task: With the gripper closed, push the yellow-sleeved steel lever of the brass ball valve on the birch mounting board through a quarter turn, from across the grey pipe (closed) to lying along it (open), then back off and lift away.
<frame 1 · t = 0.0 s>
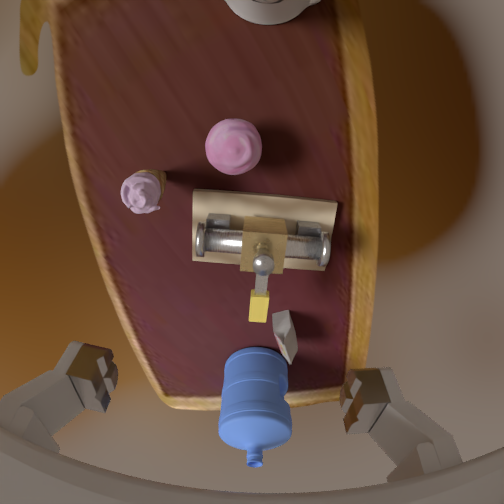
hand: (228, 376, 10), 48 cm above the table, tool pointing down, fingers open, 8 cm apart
water jug: (256, 366, 76), on the table
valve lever: (260, 288, 49), point 13 cm above the table, hinge at 0.0°
ice cream cone: (163, 176, 55), on the table
cupcake: (236, 141, 52), on the table
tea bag: (284, 322, 69), on the table
valve assembly: (262, 229, 59), on the table
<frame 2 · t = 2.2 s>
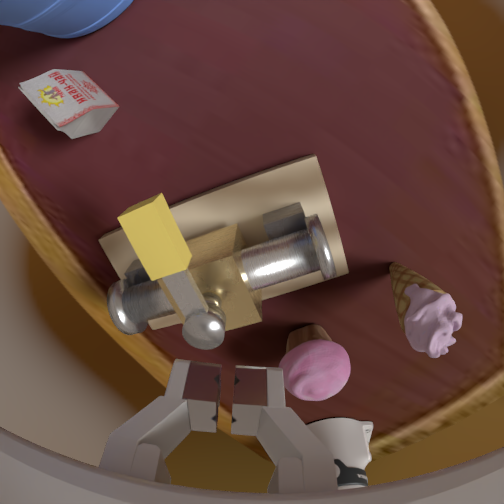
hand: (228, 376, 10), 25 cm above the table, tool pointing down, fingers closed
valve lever: (178, 280, 22), point 13 cm above the table, hinge at 0.0°
ice cream cone: (392, 264, 36), on the table
cupcake: (309, 335, 42), on the table
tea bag: (91, 100, 28), on the table
valve assembly: (221, 250, 36), on the table
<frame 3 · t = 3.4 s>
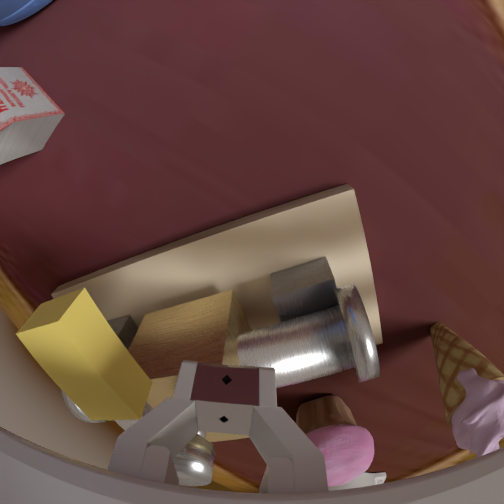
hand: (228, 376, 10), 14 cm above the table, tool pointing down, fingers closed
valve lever: (134, 416, 12), point 13 cm above the table, hinge at 0.0°
ice cream cone: (434, 324, 26), on the table
cupcake: (323, 404, 31), on the table
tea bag: (32, 107, 18), on the table
valve assembly: (212, 314, 25), on the table
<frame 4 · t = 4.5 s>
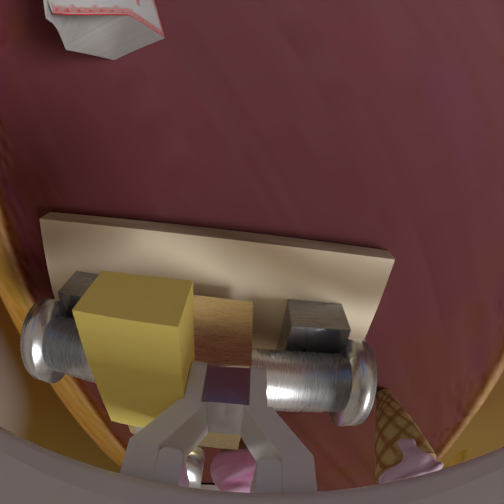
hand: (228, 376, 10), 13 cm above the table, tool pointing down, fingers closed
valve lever: (158, 421, 10), point 13 cm above the table, hinge at 1.7°, touching gripper
ice cream cone: (382, 389, 29), on the table
cupcake: (254, 423, 32), on the table
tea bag: (129, 9, 14), on the table
valve assembly: (203, 310, 24), on the table
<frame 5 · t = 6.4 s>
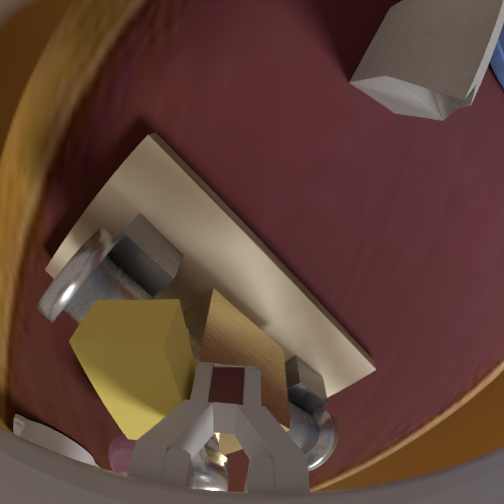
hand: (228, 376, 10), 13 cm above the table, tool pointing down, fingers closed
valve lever: (174, 435, 11), point 13 cm above the table, hinge at 52.1°, touching gripper
cupcake: (159, 414, 31), on the table
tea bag: (392, 58, 16), on the table
valve assembly: (218, 319, 24), on the table
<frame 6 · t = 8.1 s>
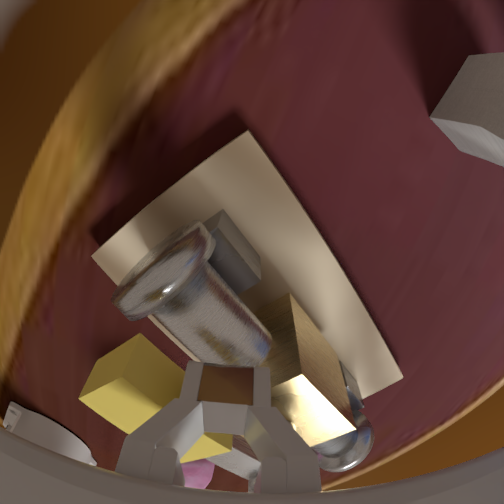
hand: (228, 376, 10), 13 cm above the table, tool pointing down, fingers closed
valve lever: (223, 447, 11), point 13 cm above the table, hinge at 91.3°, touching gripper
cupcake: (180, 413, 31), on the table
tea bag: (464, 101, 17), on the table
valve assembly: (271, 322, 25), on the table
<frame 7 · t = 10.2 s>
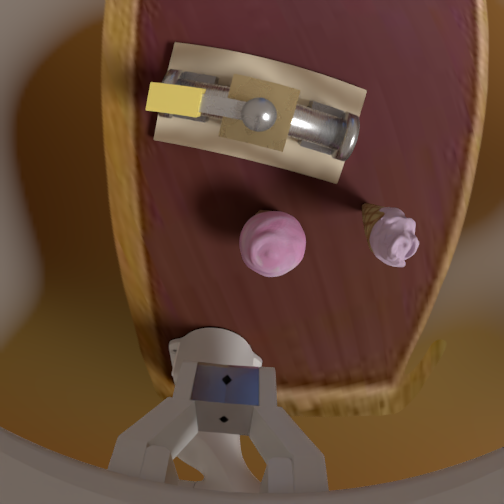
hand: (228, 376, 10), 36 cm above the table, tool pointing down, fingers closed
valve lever: (212, 104, 27), point 13 cm above the table, hinge at 91.3°
ice cream cone: (365, 204, 45), on the table
cupcake: (271, 224, 47), on the table
valve assembly: (258, 108, 39), on the table
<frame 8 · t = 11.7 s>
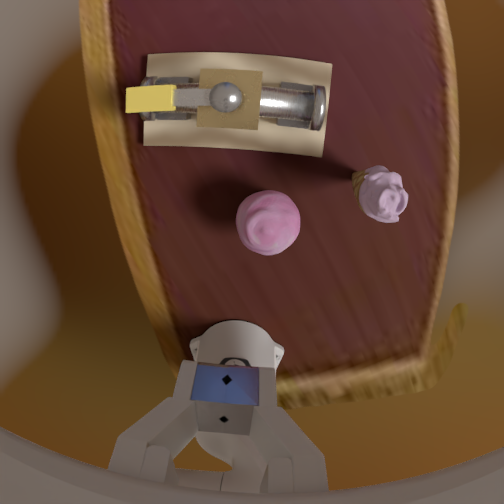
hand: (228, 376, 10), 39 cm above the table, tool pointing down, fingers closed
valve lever: (183, 97, 29), point 13 cm above the table, hinge at 91.3°
ice cream cone: (355, 173, 45), on the table
cupcake: (267, 207, 48), on the table
valve assembly: (235, 100, 41), on the table
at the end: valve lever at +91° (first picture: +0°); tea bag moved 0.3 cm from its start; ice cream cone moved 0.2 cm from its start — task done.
